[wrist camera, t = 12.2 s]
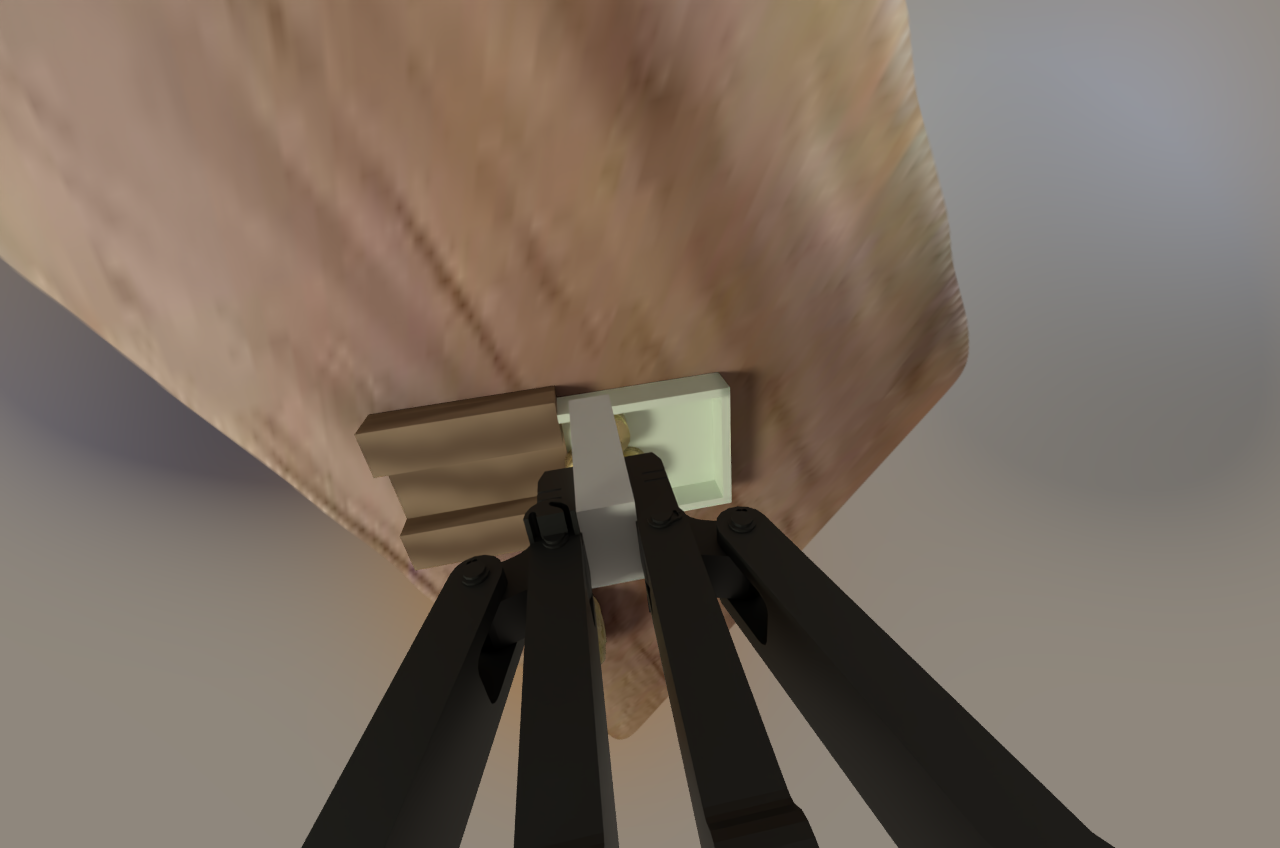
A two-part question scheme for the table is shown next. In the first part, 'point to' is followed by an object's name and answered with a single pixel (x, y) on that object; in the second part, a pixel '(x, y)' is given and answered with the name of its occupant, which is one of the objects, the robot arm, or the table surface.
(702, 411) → the tray
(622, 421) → the chip
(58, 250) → the table surface
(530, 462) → the slot board
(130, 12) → the table surface
